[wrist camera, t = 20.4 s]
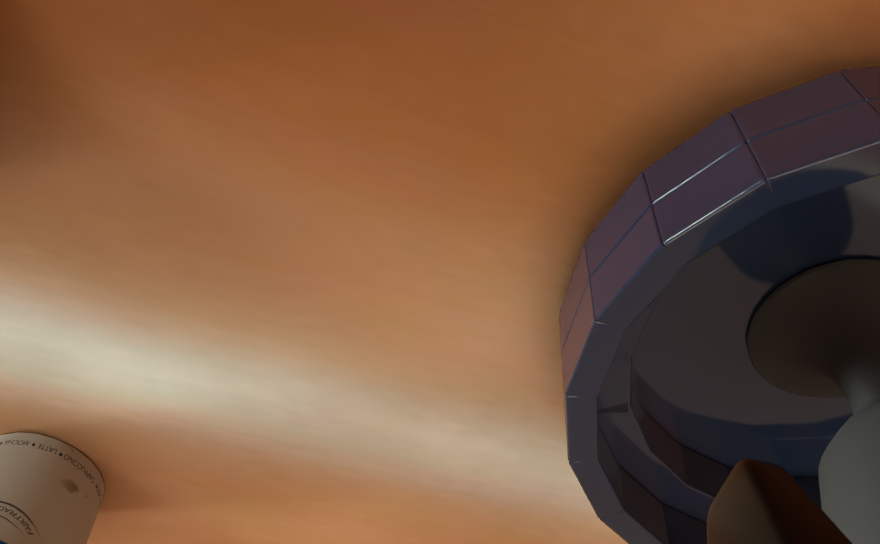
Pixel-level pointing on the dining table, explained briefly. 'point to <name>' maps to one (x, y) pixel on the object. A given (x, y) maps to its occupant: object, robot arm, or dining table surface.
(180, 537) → the dining table surface
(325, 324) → the dining table surface
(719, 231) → the bowl
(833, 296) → the sundae
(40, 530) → the coffee cup
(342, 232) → the dining table surface
